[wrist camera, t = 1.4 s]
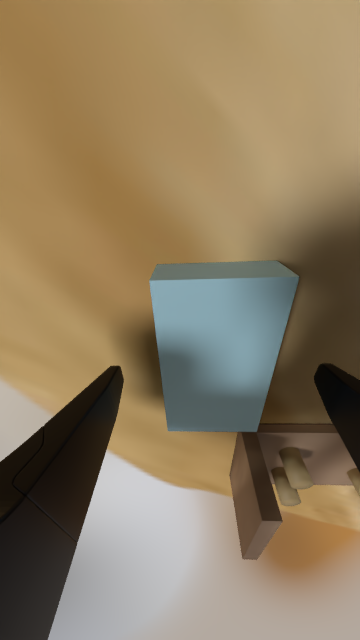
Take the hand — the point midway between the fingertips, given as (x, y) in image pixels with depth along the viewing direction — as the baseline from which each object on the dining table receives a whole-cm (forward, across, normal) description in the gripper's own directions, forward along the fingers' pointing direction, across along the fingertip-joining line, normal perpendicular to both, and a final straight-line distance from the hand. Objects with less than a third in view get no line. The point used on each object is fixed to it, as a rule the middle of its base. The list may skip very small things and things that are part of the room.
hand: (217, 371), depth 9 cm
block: (+2, 0, 0) cm, 2 cm away
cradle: (+2, -9, +11) cm, 14 cm away
